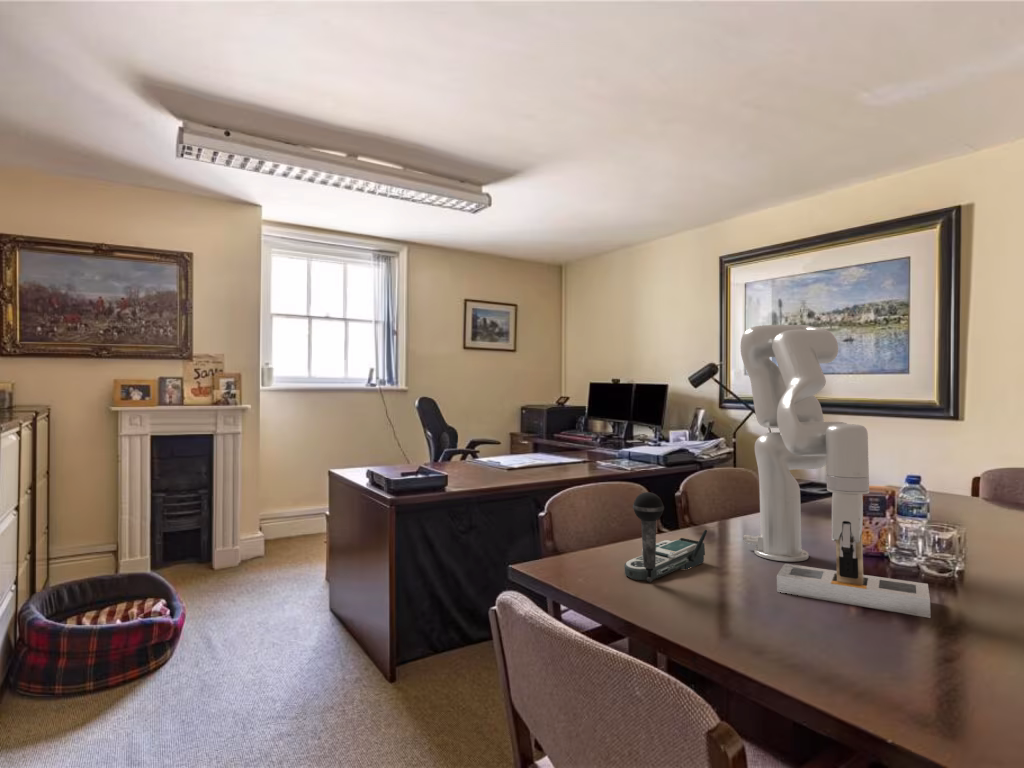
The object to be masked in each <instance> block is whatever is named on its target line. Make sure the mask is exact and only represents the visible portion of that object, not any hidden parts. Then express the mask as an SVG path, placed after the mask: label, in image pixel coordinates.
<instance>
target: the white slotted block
mask: <svg viewBox="0 0 1024 768" xmlns="http://www.w3.org/2000/svg"><path fill="white" fill-rule="evenodd" d="M780 592H781V594H785V593H787V594H786V595H791V594H792V596H797V595H798V597H804V598H810V599H816V600H821V601H829V602H834V603H839V604H846V605H851V606H858V607H864V608H867V609H873V610H874V609H875V610H881V611H886V612H893V613H898V614H904V615H911V616H915V617H916V616H917V617H921V618H929V619H931V598H930V590H929V584H928V583H924V582H917V581H911V580H904V579H895V578H888V577H881V576H874V575H868V574H863V585H858V584H852V583H845V582H838V581H837V570H834V569H826V568H819V567H818V568H817V567H814V566H813V567H812V566H811V567H810V566H805V565H798V564H790V563H784V564H783V565H782V567H781V568H780V570H779V571H778V573H777V575H776V593H780Z"/></svg>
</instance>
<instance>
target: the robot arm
mask: <svg viewBox="0 0 1024 768" xmlns="http://www.w3.org/2000/svg"><path fill="white" fill-rule="evenodd" d="M740 339H741V340H740V348H739V349H740V355H741V360H742V362H743V365H744V368H745V370H746V372H747V374H748V377H749V381H750V385H751V393H752V400H753V407H754V412H755V414H754V415H755V417H756V421H757V423H758V424H759V425H760V426H761V427H763V428H768V429H778V432H768V433H763V434H762V435H760V436H759V437H758V438H756V440H755V442H754V455H755V461H756V464H757V472H758V483H759V485H758V486H759V516H760V517H759V523H760V525H759V527H760V530H759V531H760V534H759V535H758V534H757V535H756V536H755V535H750V534H749V535H748V534H744V535H743V537H742V538H743V539H742V540H743V542H744V543H745V544H748V545H755V547H754V549H753V551H754V554H755V555H757V556H759V557H761V558H764V559H766V560H771V561H779V562H790V563H791V562H795V563H796V562H803V561H807V560H808V559H809V551H806V550H805V549H802V522H801V521H802V520H801V519H802V518H801V517H802V516H801V514H802V513H801V512H802V510H801V489H800V488H801V487H800V485H799V482H798V481H797V479H796V478H795V476H793V475H792V473H791V471H792V470H793V471H794V470H817V469H821V468H823V467H826V491H828V492H830V493H832V496H831V541H833V542H836V540H838V539H839V537H840V556H839V570H840V576H841V577H847V578H854V579H857V578H858V558H856V544H857V543H859V542H860V536H861V533H862V534H863V522H864V521H863V520H864V519H863V518H864V517H863V516H864V515H863V513H864V511H863V510H864V509H863V507H864V506H863V504H864V503H863V495H867V494H870V476H869V475H870V473H869V470H870V468H869V467H870V465H869V462H870V461H869V433H868V430H867V429H868V428H866V427H865V426H864V425H862V424H851V423H847V422H843V421H825V419H824V413H823V410H822V406H821V403H820V401H819V400H818V398H817V397H816V396H815V395H817V394H818V393H819V392H822V390H823V389H824V388H825V386H826V385H827V384H826V382H827V379H826V376H825V373H824V372H823V370H822V367H821V364H829V363H832V362H833V361H835V359H836V358H837V356H838V354H839V344H838V341H837V338H836V337H835V335H834V334H833V333H832V332H831V331H830V330H828V329H825V328H821V327H816V326H813V325H807V324H765V325H764V324H763V325H756V326H752V327H750V328H747V329H746V330H745V331H744V332H743V334H742V336H741V338H740ZM771 358H775V360H776V363H775V362H774V361H773V360H771ZM853 536H854V542H850V539H853ZM842 538H843V541H842ZM851 545H853V548H852V547H851Z"/></svg>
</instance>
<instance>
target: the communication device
mask: <svg viewBox="0 0 1024 768" xmlns="http://www.w3.org/2000/svg"><path fill="white" fill-rule="evenodd" d="M707 532H708V530H707V529H704V531H703V532H702V534H701V536H700V538H699V540H693V539H690V538H685V537H680V538H679V539H675V540H667V539H664V540H662V541H659V542H656V563H655V568H653V570H652V571H651V577H652V579H654V580H657V579H659V578H661V576H662V577H663V575H664V576H666V575H668V574H671V573H672V572H675V571H676V570H680V569H687V570H689V569H688V568H690V567H692V568H694V566H695V567H697V566H699V565H701V564H703V563H704V561H705V557H704V556H706V551H705V550H706V548H705V543H704V540H705V538H706V535H707ZM696 565H697V566H696ZM623 567H624V575H625V576H626V577H627V576H628V577H630V578H632V579H631V580H633V579H637V580H636V581H639V580H647V577H648V570H646V568H645V567H644V566H643V548H642V549H641V555H639V556H636V557H634V558H631V559H630V560H628V561H626V562H625V563H624V566H623ZM690 569H691V568H690ZM628 577H627V578H628ZM658 577H659V578H658ZM630 578H629V579H630ZM656 578H657V579H656Z"/></svg>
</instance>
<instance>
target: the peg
mask: <svg viewBox="0 0 1024 768" xmlns="http://www.w3.org/2000/svg"><path fill="white" fill-rule="evenodd" d="M842 541H843V538H842ZM850 542H854V536H853V539H850ZM851 547H852V548H853V545H851ZM863 549H864V548H863V532H862V533H861V536H860V542H859V543H857V544H856V558H858V578H857V579H854V578H847V577H841V576H840V570H839V556H840V537H839V539H838V540H836V541H835V556H836V558H835V560H836V571H837V581H838V582H845V583H852V584H858V585H863V575H864V555H863V554H864V552H863Z"/></svg>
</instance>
